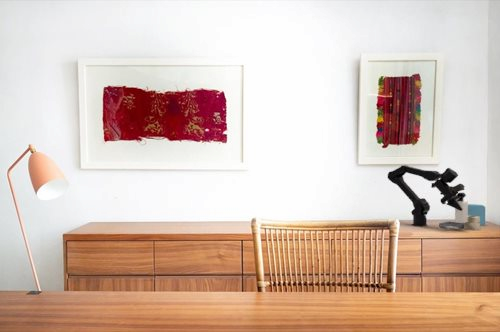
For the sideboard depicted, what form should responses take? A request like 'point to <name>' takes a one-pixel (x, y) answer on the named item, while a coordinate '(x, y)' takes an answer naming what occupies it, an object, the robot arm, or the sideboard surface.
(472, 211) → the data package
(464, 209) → the cream block
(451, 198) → the robot arm
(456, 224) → the tray
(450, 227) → the cylinder
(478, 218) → the birch block
